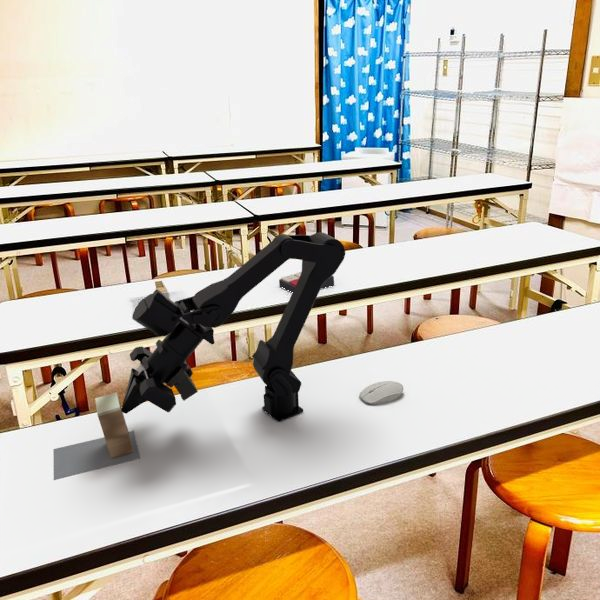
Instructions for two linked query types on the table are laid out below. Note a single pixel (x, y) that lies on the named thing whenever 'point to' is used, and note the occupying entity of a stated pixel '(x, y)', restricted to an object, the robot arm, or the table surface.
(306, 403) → the table surface
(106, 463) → the felt mat
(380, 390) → the computer mouse
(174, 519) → the table surface
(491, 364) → the table surface
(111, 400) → the walnut block
